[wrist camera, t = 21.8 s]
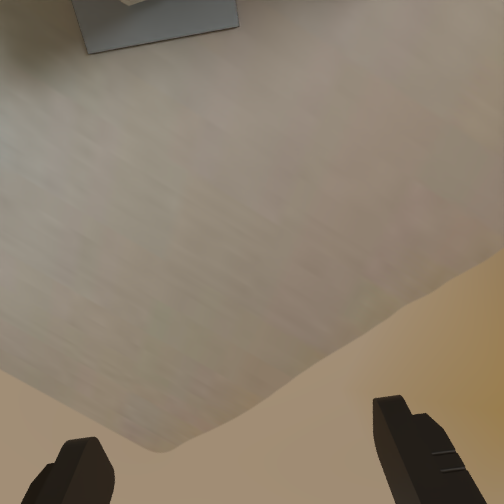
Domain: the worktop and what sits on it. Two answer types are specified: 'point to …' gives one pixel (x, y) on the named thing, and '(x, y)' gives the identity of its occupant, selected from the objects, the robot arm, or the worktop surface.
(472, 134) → the worktop surface
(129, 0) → the small box
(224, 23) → the mat
